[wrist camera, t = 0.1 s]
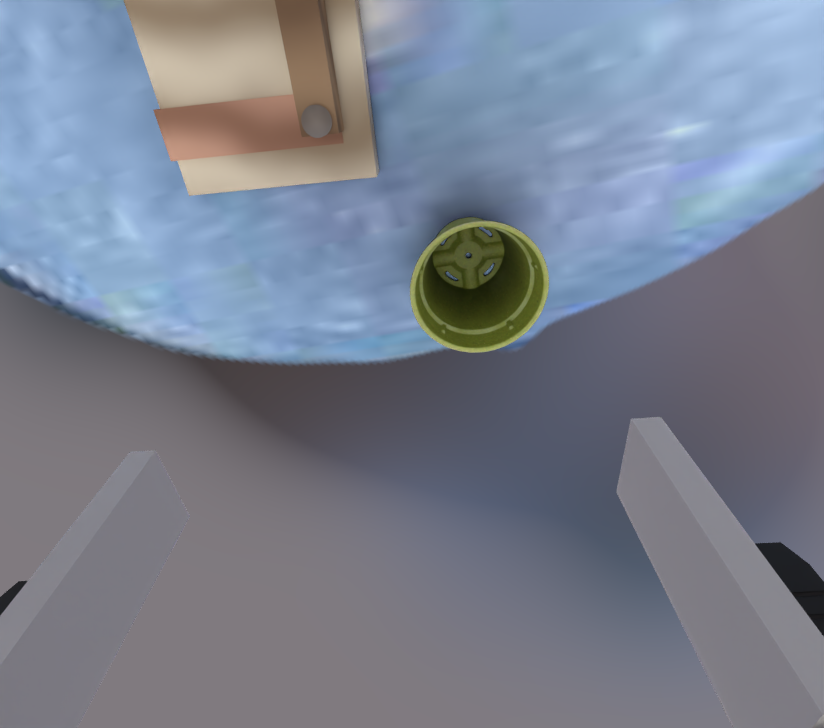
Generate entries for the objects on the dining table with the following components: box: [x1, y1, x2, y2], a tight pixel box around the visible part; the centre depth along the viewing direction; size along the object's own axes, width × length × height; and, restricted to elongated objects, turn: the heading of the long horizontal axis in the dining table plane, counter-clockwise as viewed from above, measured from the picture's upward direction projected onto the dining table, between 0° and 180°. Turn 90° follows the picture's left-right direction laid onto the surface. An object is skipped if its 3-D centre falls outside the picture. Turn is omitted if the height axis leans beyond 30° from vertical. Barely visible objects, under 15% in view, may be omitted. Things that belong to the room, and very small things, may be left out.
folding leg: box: [275, 0, 344, 138], centre depth 26 cm, size 12×2×3 cm, turn 5°
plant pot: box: [410, 217, 549, 352], centre depth 34 cm, size 9×9×9 cm
